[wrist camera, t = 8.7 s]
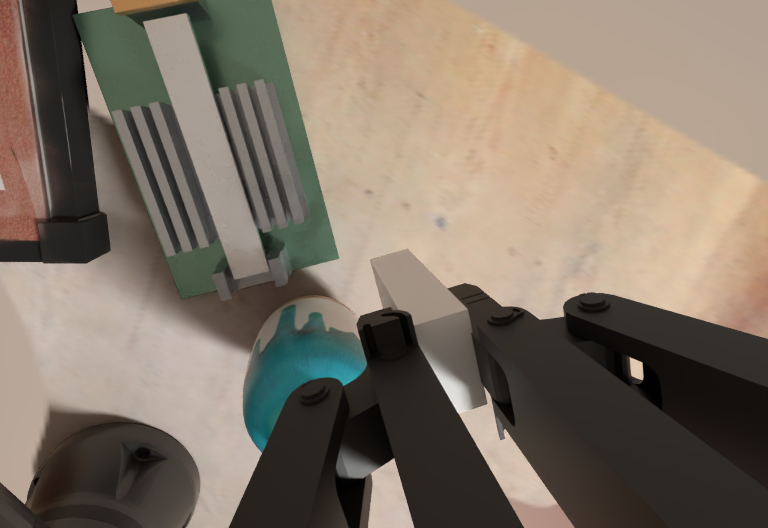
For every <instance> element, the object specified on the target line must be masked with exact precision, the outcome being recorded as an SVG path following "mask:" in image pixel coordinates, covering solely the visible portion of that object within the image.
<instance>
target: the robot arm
mask: <svg viewBox="0 0 768 528" xmlns="http://www.w3.org/2000/svg"><path fill="white" fill-rule="evenodd" d="M370 261H371V265H372V269H373V273H374V276H375V280H376V284H377V287H378V291H379V295H380V299H381V302H382V306H383V309H382V310H378V311H375V312H372V313H368V314H365V315H362V316H360V318H359V320H358V322H357V324H356V325H357V329H358V334H359V337H360V340H361V344H362V347H363V351H364V354H365V358H366V361H367V365H366V368H365V370H364V371H363V372H362V374H361V375H359V376H358V377H357V378H356V379H354V380H353V381H351V382H350V383H348V384H346V385H344V386H343V384H342V382H340V381H339V380H338V379H336V378H331V377H326V378H318V379H315V380H310V381H307V383H303V384H302V385H300V386H299V387H298V388H296V389H295V390H294V391H293V392H291V394H290V395H289V396H288V398H287V399H286V401H285V404H284V406H283V408H282V410H281V412H280V415H279V417H278V419H277V421H276V424H275V426H274V428H273V430H272V432H271V435H270V437H269V439H268V441H267V444H266V446H265V448H264V450H263V452H262V455H261V457H260V459H259V461H258V464H257V466H256V468H255V470H254V472H253V475H252V477H251V479H250V481H249V484H248V486H247V488H246V490H245V493H244V495H243V497H242V499H241V501H240V504H239V506H238V508H237V510H236V513H235V515H234V517H233V519H232V521H231V524H230V526H229V528H368V520H369V511H370V502H371V493H372V476H371V473H372V472H373V471H375V470H376V469H378V468H379V467H381V466H383V465H384V464H386V463H387V462H389V461H390V460H392V459H393V458H395V462H396V465H397V469H398V472H399V476H400V479H401V483H402V486H403V490H404V493H405V496H406V500H407V503H408V507H409V510H410V514H411V517H412V521H413V524H414V528H524V527H523V525H522V524H521V522H520V520H519V518H518V517H517V515H516V513H515V511H514V510H513V508H512V506H511V505H510V502H509V501H508V499H507V497H506V496H505V494H504V492H503V490H502V489H501V487H500V485H499V483H498V482H497V480H496V478H495V476H494V475H493V473H492V471H491V470H490V468H489V466H488V464H487V463H486V461H485V459H484V457H483V456H482V454H481V452H480V450H479V449H478V447H477V445H476V443H475V442H474V440H473V438H472V437H471V435H470V433H469V431H468V430H467V428H466V426H465V424H464V423H463V421H462V419H461V417H460V416H459V413H462V412H465V411H468V410H471V409H474V408H477V407H480V406H483V405H486V404H487V400H486V395H485V390H484V387H485V388H486V389H487V391H488V392H489V393H490V395H491V399H492V404H493V409H494V414H495V419H496V424H497V429H498V434H499V437H500V440H503V439H505V437H504V432H503V431H504V429H506V430H507V432H508V433H509V435H510V436H511V437H512V439H513V440H514V442H515V443H516V445H517V446H518V447H519V449H520V450H521V452H522V453H523V455H524V456H525V457H526V459H527V460H528V462H529V463H530V464H531V466H532V467H533V469H534V470H535V472H536V473H537V474H538V476H539V477H540V479H541V480H542V482H543V483H544V484H545V486H546V487H547V489H548V490H549V492H550V493H551V494H552V496H553V497H554V499H555V500H556V502H557V503H558V504H559V506H560V507H561V509H562V510H563V511H564V513H565V514H566V516H567V517H568V519H569V520H570V521H571V523H572V524H573V526H574V527H575V528H768V339H766V338H762V337H759V336H755V335H752V334H748V333H745V332H741V331H738V330H734V329H731V328H727V327H724V326H720V325H717V324H713V323H710V322H706V321H703V320H699V319H696V318H692V317H689V316H685V315H682V314H678V313H674V312H671V311H667V310H664V309H660V308H657V307H653V306H650V305H646V304H643V303H639V302H636V301H632V300H629V299H625V298H622V297H618V296H615V295H610V294H604V293H594V292H591V293H587V294H586V293H584V294H580V295H579V296H576V297H573V298H571V299H569V300H568V301H566V302H565V304H564V306H563V310H564V317H559V318H552V319H544V320H539V319H538V318H536V317H535V316H534V315H532V314H531V313H530V312H528V311H527V310H525V309H522V308H519V307H512V306H511V307H502V306H501V305H500V304H498V303H497V302H496V301H495V300H493V299H492V298H490V296H488V295H487V294H486V293H484V291H482V290H481V289H480V288H479V287H477V286H474V285H470V284H466V283H464V284H461V285H457V286H454V287H451V288H446V287H445V286H444V285H443V284H442V283H441V282H440V281H439V280H438V279H437V278H436V277H435V276H434V275H433V274H432V273H431V272H430V271H429V270H428V269H427V268H426V267H425V266H424V265H423V264H422V263H421V262H420V261H419V260H418V259H417V258H416V257H415V256H414V255H413V254H412V253H411V252H410V251H409V250H408V249H405V250H402V251H398V252H395V253H391V254H388V255H384V256H381V257H378V258H374V259H371V260H370ZM629 357H631V358H633V359H636V360H638V361H641V362H643V374H644V378H643V380H639V379H637V378H634V377H632V376H631V369H630V358H629ZM199 492H200V477H199V472H198V469H197V466H196V464H195V462H194V460H193V458H192V456H191V455H190V454H189V452H188V451H187V450H186V449H185V448H184V447H183V446H182V445H181V444H180V443H179V442H178V441H176V440H175V439H174V438H172V437H170V436H169V435H167V434H165V433H163V432H161V431H159V430H156V429H154V428H151V427H147V426H143V425H138V424H132V423H110V424H103V425H98V426H94V427H90V428H87V429H85V430H82V431H80V432H78V433H76V434H74V435H72V436H70V437H69V438H67V439H66V440H65V441H63V442H62V443H61V444H60V445H59V446H57V448H56V449H55V450H54V451H53V452H52V453H51V454H50V456H49V457H48V458H47V459H46V460H45V462H44V463H43V464H42V465H41V467H40V468H39V469H38V471H37V473H36V474H35V476H34V478H33V480H32V482H31V485H30V488H29V491H28V495H27V501H26V503H25V504H23V503H22V502H21V501H20V500H19V499H18V498H17V497H16V496H15V495H13V494H12V493H11V492H10V491H9V490H8V489H7V488H6V487H4V485H2V484H1V483H0V528H186V527H187V526H188V524H189V522H190V520H191V518H192V515H193V513H194V510H195V506H196V503H197V500H198V497H199Z"/></svg>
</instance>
